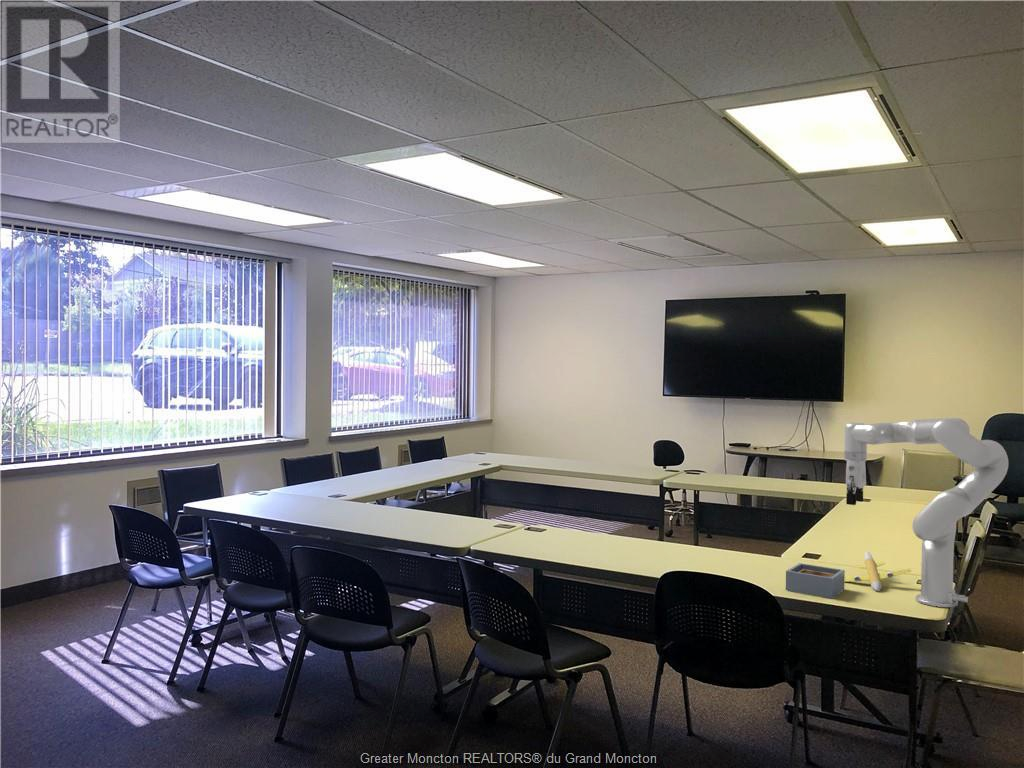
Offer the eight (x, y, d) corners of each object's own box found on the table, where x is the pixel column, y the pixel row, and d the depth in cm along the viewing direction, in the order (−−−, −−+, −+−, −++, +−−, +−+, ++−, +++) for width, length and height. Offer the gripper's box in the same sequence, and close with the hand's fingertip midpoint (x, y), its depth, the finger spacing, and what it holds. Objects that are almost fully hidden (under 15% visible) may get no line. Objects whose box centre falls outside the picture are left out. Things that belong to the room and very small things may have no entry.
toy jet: (920, 598, 273) (905, 558, 300) (915, 580, 271) (901, 541, 299) (843, 608, 282) (836, 569, 309) (838, 591, 281) (831, 552, 308)
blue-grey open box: (844, 589, 280) (844, 570, 279) (832, 598, 268) (832, 578, 268) (799, 581, 289) (799, 563, 289) (785, 590, 278) (785, 570, 278)
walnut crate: (834, 587, 278) (834, 574, 278) (828, 591, 273) (828, 577, 273) (802, 582, 285) (802, 569, 284) (797, 586, 279) (797, 572, 279)
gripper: (860, 459, 276) (859, 507, 276) (872, 455, 289) (871, 501, 290) (838, 457, 280) (837, 504, 281) (851, 453, 294) (850, 498, 294)
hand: (854, 502), depth 285 cm, fingers open, 9 cm apart
